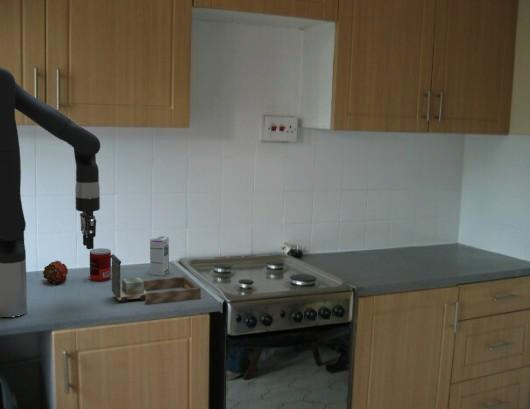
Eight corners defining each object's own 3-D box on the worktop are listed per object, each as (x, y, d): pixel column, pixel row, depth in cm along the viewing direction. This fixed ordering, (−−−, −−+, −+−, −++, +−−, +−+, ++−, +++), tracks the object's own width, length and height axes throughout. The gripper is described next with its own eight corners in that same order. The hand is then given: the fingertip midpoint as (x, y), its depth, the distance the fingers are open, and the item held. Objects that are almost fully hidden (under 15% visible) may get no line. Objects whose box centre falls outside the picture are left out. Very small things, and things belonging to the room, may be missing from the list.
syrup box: (164, 276, 249) (164, 239, 246) (149, 274, 250) (149, 238, 248) (169, 272, 254) (169, 236, 252) (155, 271, 255) (155, 235, 253)
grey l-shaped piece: (117, 303, 211) (117, 260, 209) (110, 296, 219) (110, 254, 217) (148, 300, 216) (148, 258, 214) (141, 293, 224) (141, 252, 222)
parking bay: (146, 305, 212) (146, 294, 211) (133, 292, 227) (133, 281, 226) (200, 299, 221) (200, 288, 220) (184, 286, 235) (184, 276, 234)
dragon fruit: (54, 291, 230) (53, 286, 241) (73, 276, 232) (72, 272, 244) (38, 272, 228) (39, 269, 240) (58, 257, 231) (58, 254, 242)
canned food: (112, 276, 246) (112, 248, 244) (108, 282, 238) (108, 253, 236) (92, 275, 246) (92, 247, 244) (87, 281, 238) (87, 252, 236)
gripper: (71, 192, 211) (72, 243, 213) (79, 199, 198) (80, 252, 201) (94, 192, 214) (95, 241, 217) (104, 198, 201) (104, 251, 204)
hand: (88, 246), depth 209 cm, fingers open, 5 cm apart
